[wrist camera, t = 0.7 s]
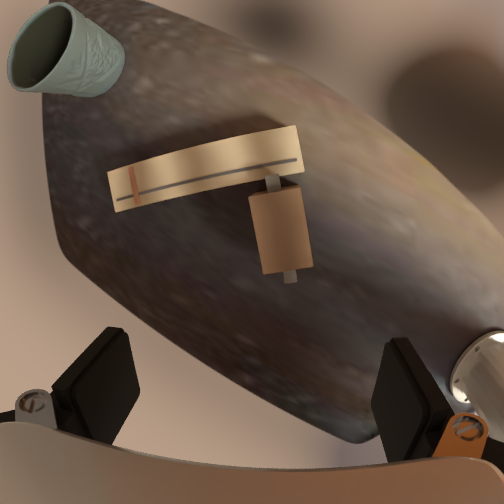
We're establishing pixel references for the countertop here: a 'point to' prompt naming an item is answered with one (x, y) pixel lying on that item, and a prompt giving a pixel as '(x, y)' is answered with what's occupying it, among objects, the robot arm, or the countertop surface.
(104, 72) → the green cup
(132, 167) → the guide plank
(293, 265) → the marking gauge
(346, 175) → the countertop surface
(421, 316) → the countertop surface
